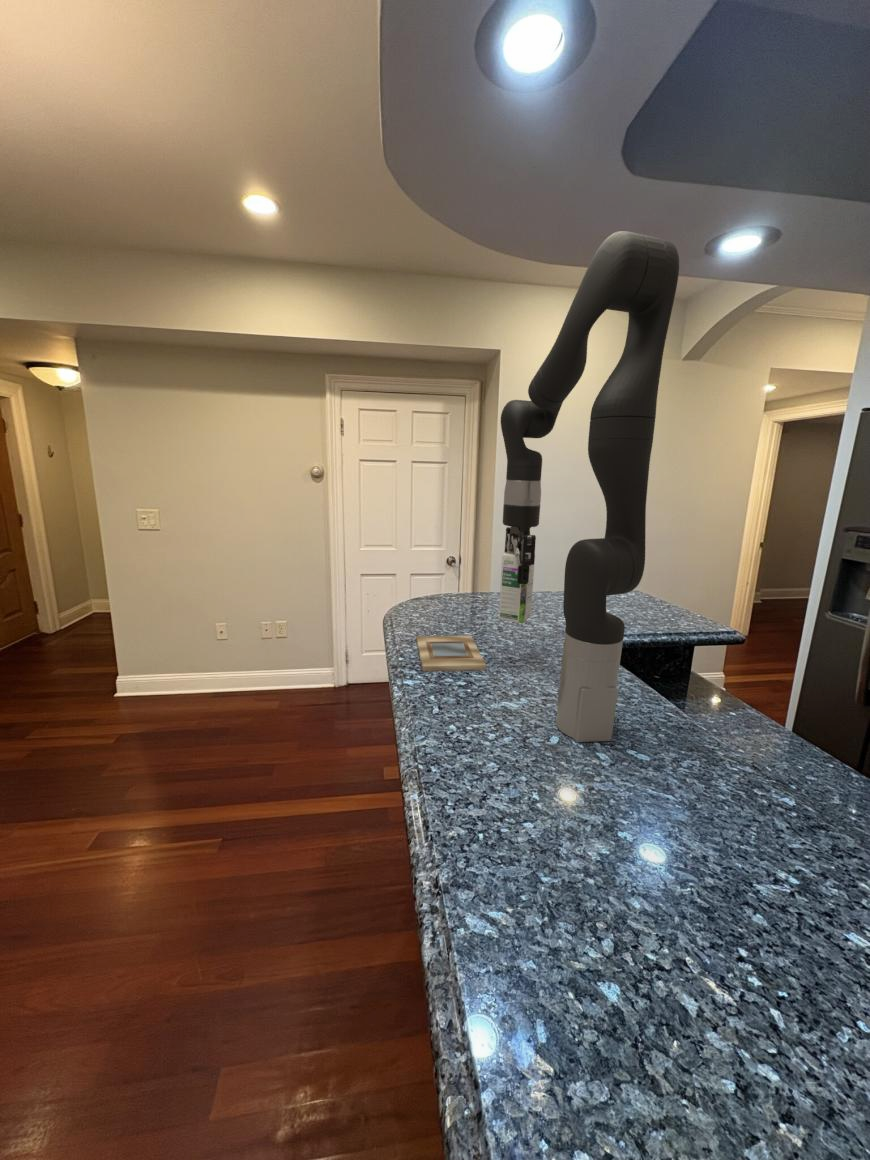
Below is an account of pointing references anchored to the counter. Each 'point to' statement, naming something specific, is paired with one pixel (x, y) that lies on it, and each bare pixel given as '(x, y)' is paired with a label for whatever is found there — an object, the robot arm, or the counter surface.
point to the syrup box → (514, 591)
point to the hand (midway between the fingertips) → (516, 579)
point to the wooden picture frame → (449, 653)
